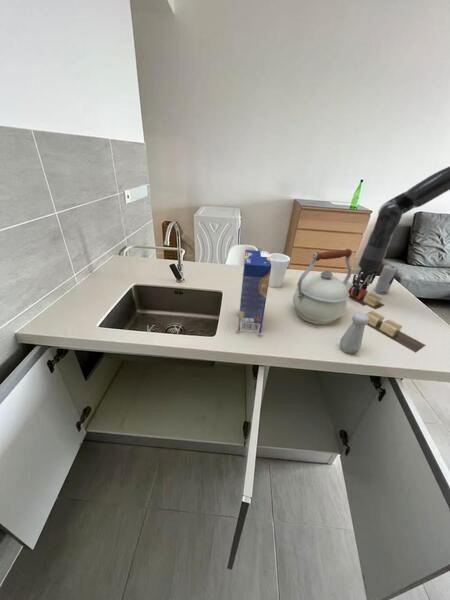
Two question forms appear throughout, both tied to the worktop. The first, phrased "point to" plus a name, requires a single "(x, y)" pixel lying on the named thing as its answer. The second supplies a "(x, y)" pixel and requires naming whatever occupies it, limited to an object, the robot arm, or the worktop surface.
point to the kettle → (322, 291)
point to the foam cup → (278, 269)
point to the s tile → (360, 293)
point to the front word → (393, 331)
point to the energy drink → (385, 279)
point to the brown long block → (368, 300)
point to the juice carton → (254, 290)
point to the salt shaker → (354, 333)
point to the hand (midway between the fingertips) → (358, 294)
